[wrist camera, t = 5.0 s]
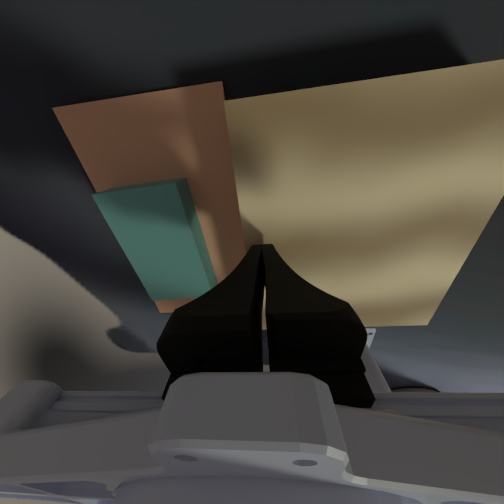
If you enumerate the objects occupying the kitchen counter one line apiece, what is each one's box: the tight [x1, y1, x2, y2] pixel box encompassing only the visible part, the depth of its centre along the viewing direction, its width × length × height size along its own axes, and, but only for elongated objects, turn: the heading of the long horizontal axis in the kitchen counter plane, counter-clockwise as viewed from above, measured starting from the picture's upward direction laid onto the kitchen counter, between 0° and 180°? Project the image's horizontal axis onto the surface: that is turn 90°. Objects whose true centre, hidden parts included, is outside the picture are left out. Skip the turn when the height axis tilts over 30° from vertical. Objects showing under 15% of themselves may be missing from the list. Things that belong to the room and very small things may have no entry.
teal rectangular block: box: [91, 178, 217, 301], centre depth 15 cm, size 10×6×2 cm, turn 8°
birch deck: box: [224, 59, 504, 330], centre depth 13 cm, size 16×14×4 cm
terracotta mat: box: [52, 81, 246, 313], centre depth 16 cm, size 19×11×1 cm, turn 6°
